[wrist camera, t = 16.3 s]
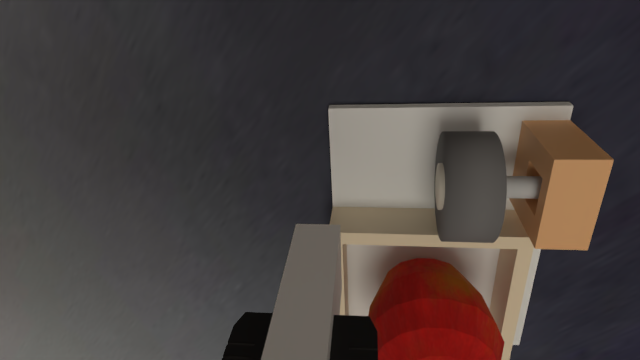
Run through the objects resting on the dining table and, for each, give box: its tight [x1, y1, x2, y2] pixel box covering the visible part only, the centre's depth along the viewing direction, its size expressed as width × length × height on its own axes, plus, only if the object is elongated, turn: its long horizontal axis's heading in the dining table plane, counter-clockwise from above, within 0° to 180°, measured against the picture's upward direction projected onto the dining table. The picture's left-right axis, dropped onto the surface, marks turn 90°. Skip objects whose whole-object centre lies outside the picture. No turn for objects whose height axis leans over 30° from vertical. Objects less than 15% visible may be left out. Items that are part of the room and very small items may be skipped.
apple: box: [368, 258, 504, 360], centre depth 31 cm, size 9×9×12 cm
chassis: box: [328, 102, 614, 360], centre depth 32 cm, size 16×22×7 cm
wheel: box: [434, 131, 542, 243], centre depth 27 cm, size 8×7×7 cm
